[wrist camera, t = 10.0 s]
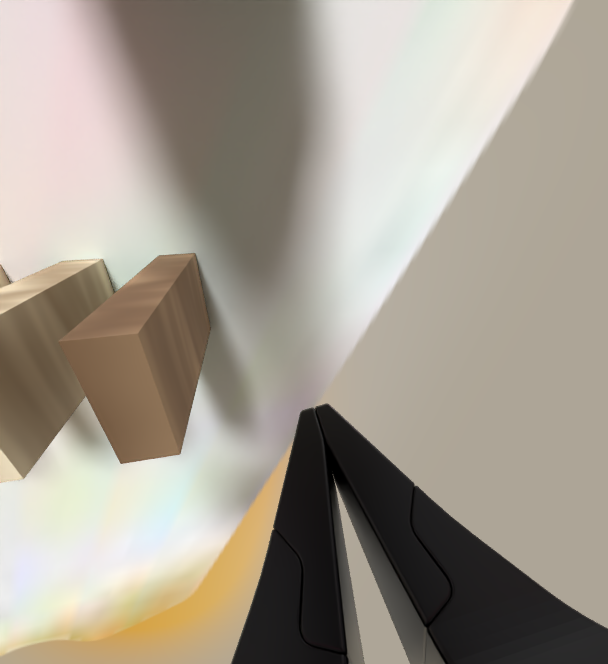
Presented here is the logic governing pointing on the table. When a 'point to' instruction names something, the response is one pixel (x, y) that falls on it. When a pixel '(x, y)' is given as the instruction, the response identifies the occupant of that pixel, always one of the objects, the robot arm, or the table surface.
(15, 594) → the table surface
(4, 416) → the light brown wooden block
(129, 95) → the table surface
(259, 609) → the robot arm
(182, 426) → the tile
